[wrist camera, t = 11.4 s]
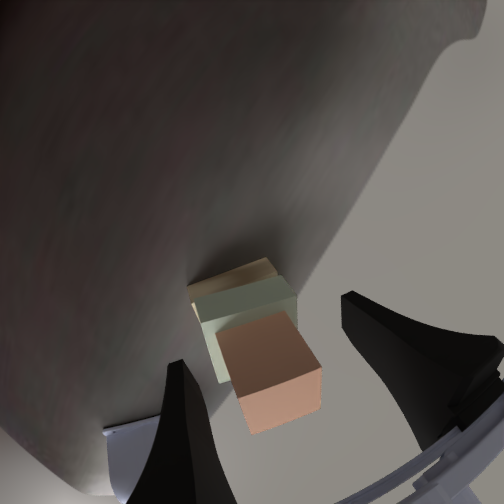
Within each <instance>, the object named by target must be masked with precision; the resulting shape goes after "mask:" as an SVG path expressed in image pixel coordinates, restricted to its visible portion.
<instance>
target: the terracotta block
mask: <svg viewBox="0 0 504 504" xmlns="http://www.w3.org/2000/svg"><path fill="white" fill-rule="evenodd" d="M215 335H216V338H217V341H218V344H219V347H220V350H221V353H222V356H223V359H224V362H225V365H226V368H227V371H228V373H229V376H230V379H231V382H232V385H233V387H234V390H235V392H236V395H237V398H238V401H239V404H240V406H241V409H242V411H243V414H244V417H245V419H246V422H247V424H248V427H249V430H250V432H251V434H252V435H254V434H257V433H259V432H262V431H265V430H268V429H271V428H274V427H276V426H279V425H282V424H284V423H287V422H289V421H292V420H295V419H297V418H300V417H302V416H305V415H307V414H309V413H312V412H314V411H317V410H319V409H320V407H321V383H322V382H321V381H322V366H321V365H320V363H319V362H318V360H317V359H316V357H315V356H314V354H313V353H312V351H311V350H310V348H309V347H308V345H307V344H306V342H305V341H304V339H303V338H302V336H301V335H300V333H299V331H298V330H297V328H296V327H295V325H294V324H293V322H292V321H291V319H290V318H289V316H288V315H287V313H286V312H285V311H282V312H279V313H276V314H273V315H270V316H267V317H264V318H261V319H258V320H255V321H252V322H249V323H246V324H243V325H240V326H237V327H234V328H231V329H228V330H225V331H221V332H218V333H215Z"/></svg>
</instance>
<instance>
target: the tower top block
mask: <svg viewBox="0 0 504 504" xmlns="http://www.w3.org/2000/svg"><path fill="white" fill-rule="evenodd" d="M194 302H195V306H196V309H197V313H198V316H199V320H200V323H201V327H202V330H203V334H204V337H205V341H206V344H207V347H208V351H209V354H210V357H211V360H212V364H213V367H214V370H215V373H216V376H217V379H218V382H219V384H220V383H223V382H227V381H230V380H231V379H230V376H229V373H228V371H227V368H226V365H225V362H224V359H223V356H222V353H221V350H220V347H219V344H218V341H217V338H216V335H215V333H218V332H221V331H225V330H228V329H231V328H234V327H237V326H240V325H243V324H246V323H249V322H252V321H255V320H258V319H261V318H264V317H267V316H270V315H273V314H276V313H279V312H282V311H285V312H286V313H287V315H288V316H289V318H290V319H291V321H292V322H293V324H294V325H295V327H296V328H297V295H296V294H295V292H294V291H293V290H292V288H291V287H290V286H289V285H288V283H287V282H286V281H285V279H284V278H283V277H282V275H279V276H275V277H272V278H268V279H265V280H261V281H258V282H254V283H250V284H247V285H243V286H240V287H236V288H232V289H228V290H224V291H221V292H217V293H213V294H209V295H206V296H202V297H198V298H194Z"/></svg>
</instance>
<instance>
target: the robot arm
mask: <svg viewBox="0 0 504 504" xmlns="http://www.w3.org/2000/svg"><path fill="white" fill-rule="evenodd" d="M341 316H342V328H343V330H344V332H345V333H346V335H347V336H348V338H349V340H350V341H351V343H352V344H353V346H354V347H355V348H356V349H357V351H358V352H359V353H360V354H361V355H362V356H363V358H364V359H365V360H366V361H367V363H368V364H369V365H370V366H371V367H372V368H373V370H374V371H375V372H376V373H377V374H378V376H379V377H380V378H381V379H382V381H383V382H384V383H385V385H386V386H387V388H388V390H389V391H390V393H391V394H392V396H393V397H394V399H395V400H396V402H397V404H398V406H399V407H400V409H401V411H402V412H403V414H404V416H405V418H406V420H407V422H408V423H409V425H410V427H411V429H412V431H413V433H414V435H415V437H416V439H417V442H418V444H419V446H420V448H421V450H422V451H423V452H422V453H421V454H419V455H418V456H416V457H415V458H414V459H412V460H410V461H409V462H407V463H406V464H404V465H403V466H401V467H400V468H398V469H397V470H395V471H394V472H392V473H391V474H389V475H387V476H386V477H384V478H382V479H380V480H379V481H377V482H375V483H373V484H372V485H370V486H368V487H366V488H364V489H362V490H361V491H359V492H357V493H355V494H353V495H351V496H349V497H347V498H345V499H343V500H341V501H339V502H337V503H335V504H368V503H370V502H372V501H373V500H375V499H377V498H379V497H381V496H382V495H384V494H386V493H387V492H389V491H391V490H392V489H394V488H396V487H397V486H399V485H400V484H402V483H404V482H405V481H407V480H408V479H410V478H411V477H413V476H414V475H416V474H417V473H418V472H420V471H421V470H423V469H424V468H426V467H427V466H428V465H429V464H431V463H432V462H434V461H435V460H436V459H438V458H439V457H440V456H441V457H440V460H439V461H438V462H437V463H436V464H435V465H434V466H432V467H431V468H430V469H428V470H427V471H426V472H424V473H423V475H422V476H421V477H420V478H419V479H417V480H416V481H415V482H414V483H413V487H414V488H415V489H416V491H415V492H414V493H412V494H411V495H409V496H408V497H406V498H405V499H403V500H402V501H400V502H398V503H397V504H481V502H480V501H479V500H478V498H477V497H476V495H475V494H474V493H473V491H472V490H471V489H470V487H469V486H468V485H469V484H470V483H471V482H472V481H473V480H474V479H475V478H476V477H477V476H479V474H481V473H482V472H483V471H484V469H486V467H487V466H488V465H489V464H490V463H491V462H492V461H493V460H494V459H495V458H496V457H497V456H498V455H499V454H500V452H501V451H502V450H503V449H504V378H503V380H501V379H500V378H499V376H500V372H499V371H498V370H497V368H498V366H499V364H500V362H501V361H502V359H503V357H504V344H503V343H501V341H499V340H498V339H497V338H496V337H495V336H487V335H473V334H465V333H459V332H454V331H449V330H445V329H440V328H437V327H433V326H430V325H427V324H424V323H421V322H418V321H415V320H413V319H410V318H408V317H405V316H403V315H401V314H398V313H396V312H394V311H392V310H390V309H388V308H385V307H384V306H382V305H380V304H377V303H375V302H374V301H371V300H370V299H368V298H366V297H364V296H362V295H360V294H358V293H356V292H354V291H350V292H348V293H346V294H344V295H341ZM103 434H104V435H105V436H106V437H107V452H108V465H109V476H110V482H111V486H112V489H113V491H114V494H115V495H116V497H117V499H118V500H119V501H120V503H121V504H237V502H236V500H235V497H234V495H233V493H232V491H231V488H230V486H229V484H228V481H227V479H226V477H225V474H224V471H223V469H222V466H221V463H220V461H219V458H218V455H217V451H216V448H215V444H214V439H213V435H212V431H211V426H210V422H209V417H208V413H207V409H206V405H205V402H204V399H203V396H202V393H201V390H200V387H199V385H198V383H197V382H196V380H195V378H194V377H193V375H192V374H191V372H190V370H189V369H188V367H187V366H186V364H185V362H184V361H183V359H181V360H178V361H175V362H172V363H169V364H168V367H167V378H166V386H165V393H164V399H163V404H162V410H161V414H160V415H159V416H156V417H152V418H148V419H144V420H141V421H137V422H133V423H129V424H124V425H120V426H116V427H111V428H107V429H104V430H103Z"/></svg>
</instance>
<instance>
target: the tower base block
mask: <svg viewBox="0 0 504 504" xmlns="http://www.w3.org/2000/svg"><path fill="white" fill-rule="evenodd" d="M275 276H278V273H277V271H276V269H275V268H274V267H273V265H272V264H271V263H270V261H269V260H268V259H267V257H265V258H262V259H259V260H257V261H254V262H251V263H249V264H246V265H243V266H241V267H238V268H235V269H232V270H230V271H227V272H224V273H222V274H219V275H216V276H213V277H211V278H208V279H205V280H203V281H200V282H197V283H194V284H192V285H189V286H187V289H188V293H189V297H190V301H191V304H192V306H193V309H194V311H195V313H196V315H197V317H198V320H199V316H198V313H197V309H196V306H195V302H194V298H198V297H202V296H206V295H209V294H213V293H217V292H221V291H224V290H228V289H232V288H236V287H240V286H243V285H247V284H250V283H254V282H258V281H261V280H265V279H268V278H272V277H275ZM199 322H200V320H199ZM200 324H201V323H200Z"/></svg>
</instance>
